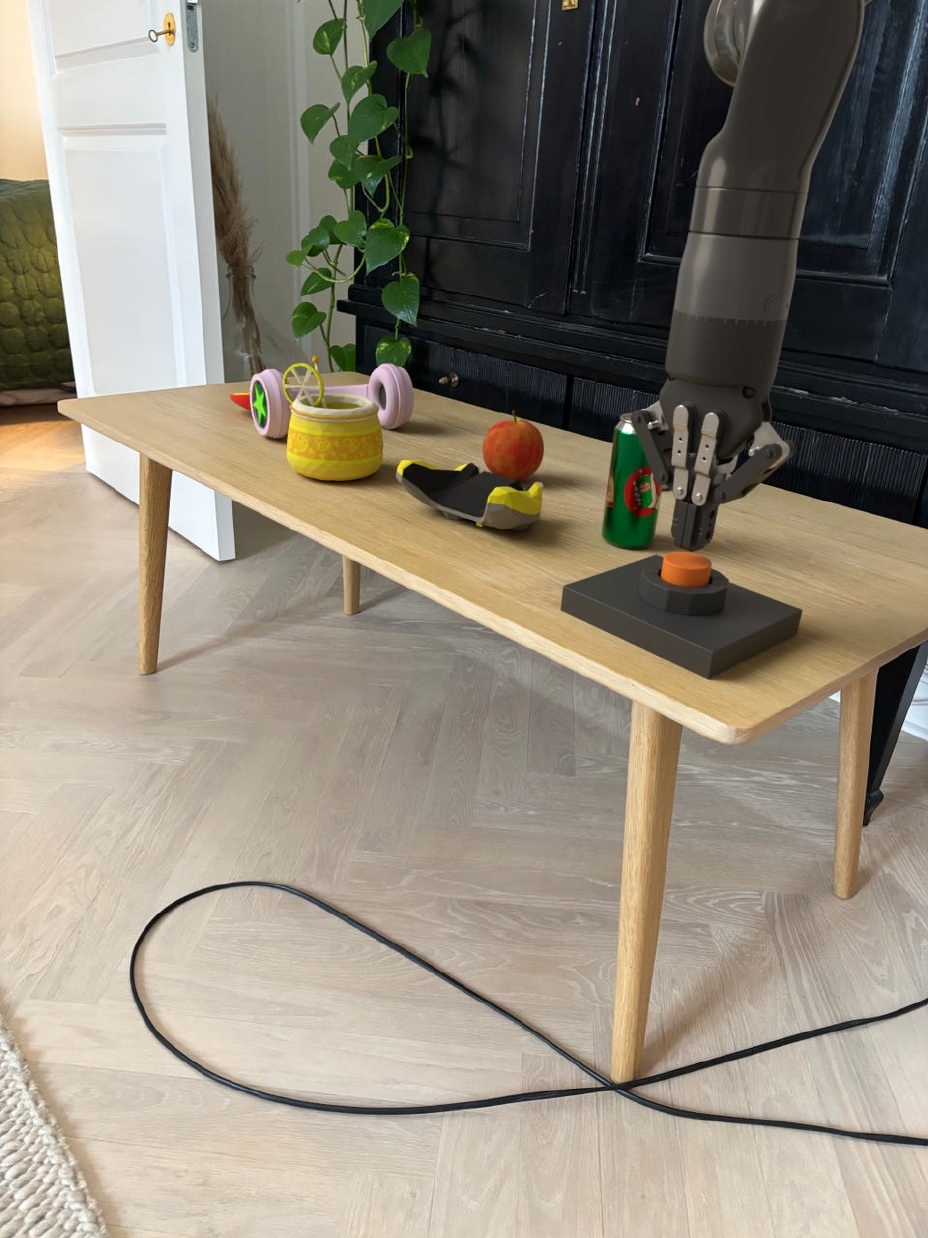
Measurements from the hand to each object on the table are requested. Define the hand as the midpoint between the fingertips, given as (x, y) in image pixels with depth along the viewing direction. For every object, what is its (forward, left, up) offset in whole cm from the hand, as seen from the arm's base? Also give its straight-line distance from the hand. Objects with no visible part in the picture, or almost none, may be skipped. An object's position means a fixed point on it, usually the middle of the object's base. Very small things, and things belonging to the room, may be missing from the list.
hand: (689, 547), depth 69 cm
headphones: (+69, -12, -7) cm, 70 cm away
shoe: (+27, -3, -7) cm, 28 cm away
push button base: (0, 0, -6) cm, 6 cm away
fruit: (+35, -16, -7) cm, 39 cm away
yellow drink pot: (+49, -1, -7) cm, 49 cm away
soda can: (+14, -11, -7) cm, 19 cm away
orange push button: (0, 0, -3) cm, 3 cm away
